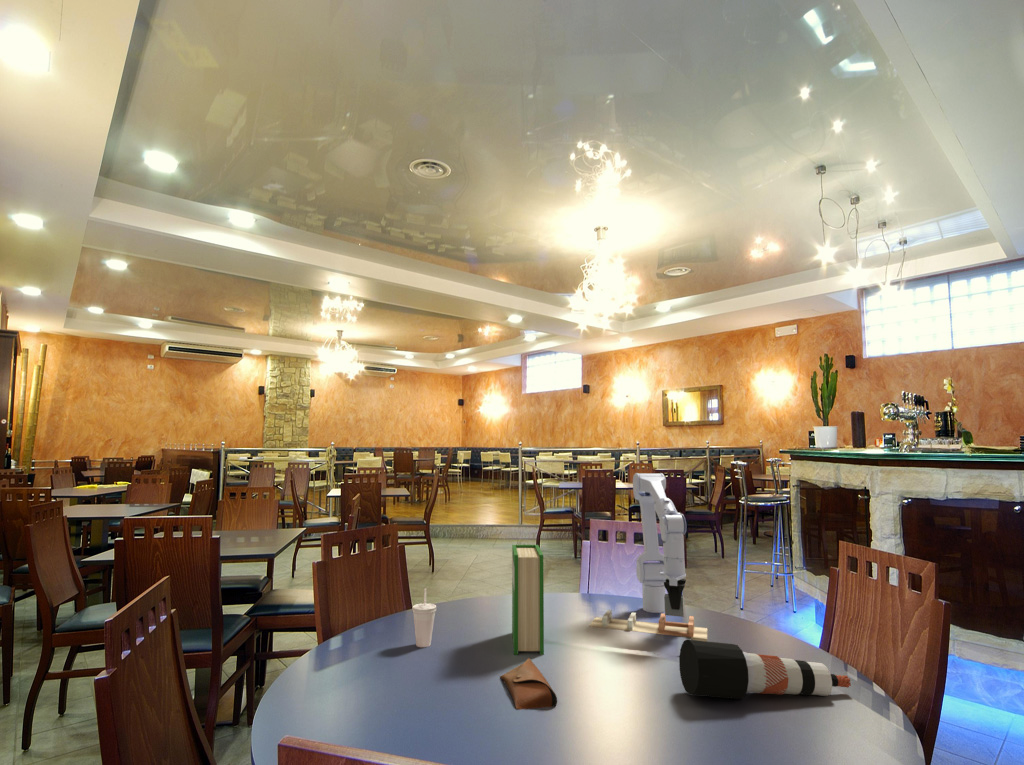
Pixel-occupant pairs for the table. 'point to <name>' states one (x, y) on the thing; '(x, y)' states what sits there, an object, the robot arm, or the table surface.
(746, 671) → the striped tapered cone
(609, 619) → the wooden board with blocks
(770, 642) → the table surface
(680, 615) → the plug
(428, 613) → the smoothie
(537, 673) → the sunglasses case
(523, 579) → the hardback book
